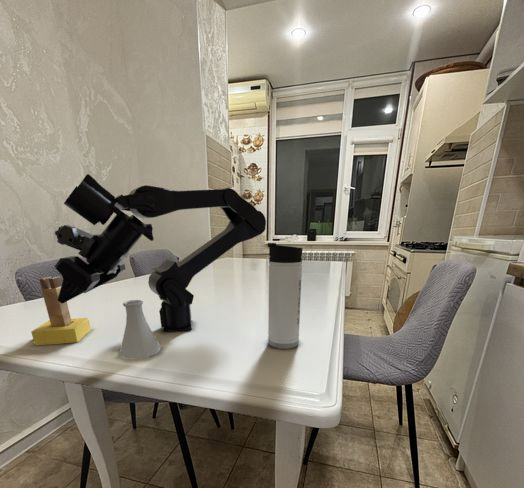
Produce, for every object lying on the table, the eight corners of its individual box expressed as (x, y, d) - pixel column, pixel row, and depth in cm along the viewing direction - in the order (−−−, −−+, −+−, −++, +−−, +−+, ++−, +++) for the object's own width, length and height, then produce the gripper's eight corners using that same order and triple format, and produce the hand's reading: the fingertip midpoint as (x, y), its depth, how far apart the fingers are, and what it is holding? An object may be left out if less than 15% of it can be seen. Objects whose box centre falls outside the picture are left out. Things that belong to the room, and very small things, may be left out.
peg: (75, 334, 65) (60, 276, 61) (68, 339, 62) (53, 278, 58) (61, 335, 65) (46, 276, 60) (54, 339, 62) (38, 279, 58)
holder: (91, 329, 68) (88, 317, 67) (77, 342, 61) (74, 329, 60) (53, 332, 67) (49, 319, 66) (34, 345, 59) (30, 331, 58)
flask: (147, 362, 52) (139, 308, 48) (111, 358, 53) (101, 305, 50) (167, 346, 59) (161, 298, 55) (135, 344, 60) (127, 296, 56)
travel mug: (262, 340, 62) (261, 242, 55) (289, 336, 64) (292, 241, 57) (274, 351, 56) (276, 244, 49) (304, 346, 59) (309, 243, 52)
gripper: (101, 212, 64) (61, 263, 67) (52, 207, 47) (1, 277, 50) (143, 248, 68) (103, 296, 71) (112, 256, 50) (61, 319, 53)
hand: (72, 296), depth 61 cm, fingers open, 9 cm apart
